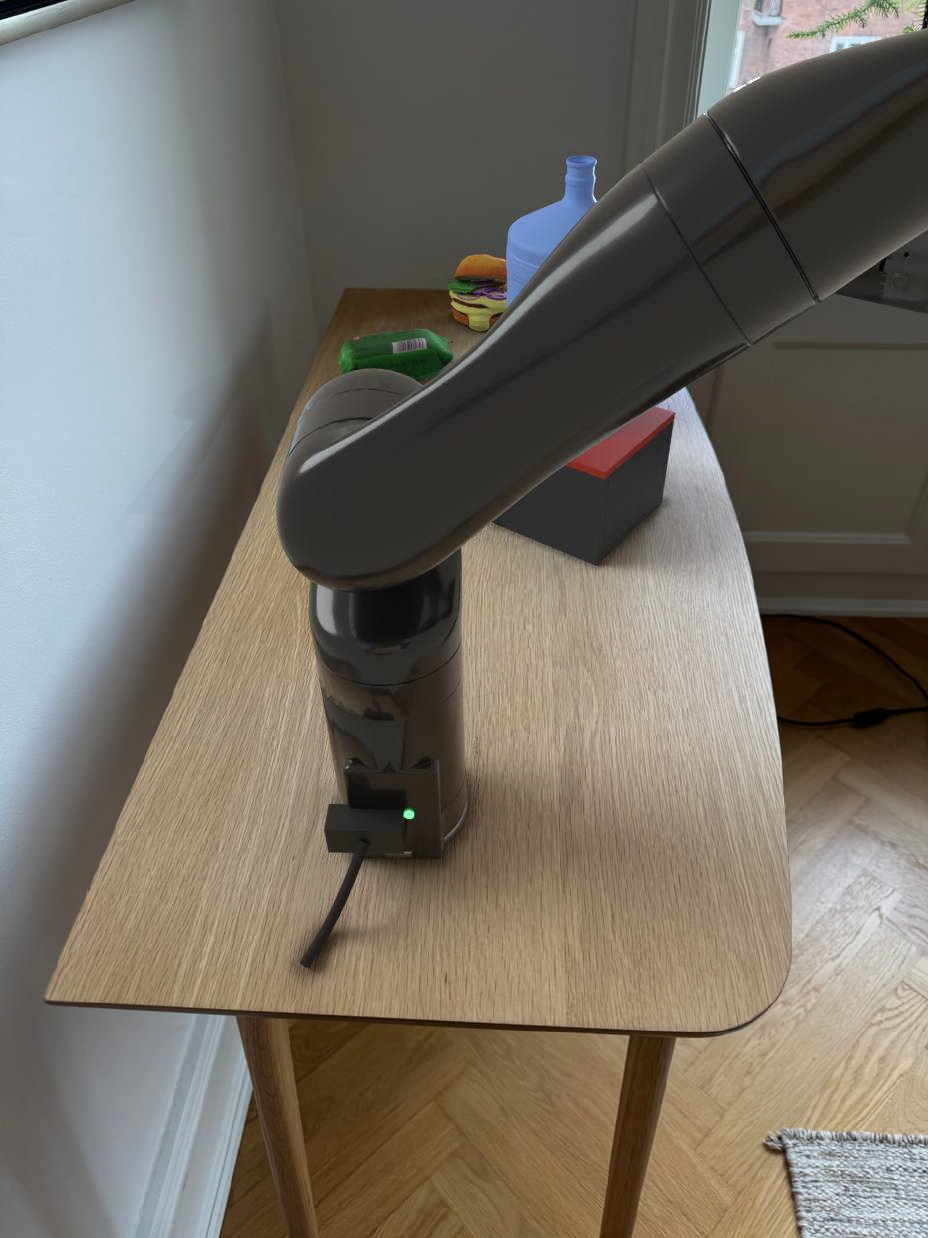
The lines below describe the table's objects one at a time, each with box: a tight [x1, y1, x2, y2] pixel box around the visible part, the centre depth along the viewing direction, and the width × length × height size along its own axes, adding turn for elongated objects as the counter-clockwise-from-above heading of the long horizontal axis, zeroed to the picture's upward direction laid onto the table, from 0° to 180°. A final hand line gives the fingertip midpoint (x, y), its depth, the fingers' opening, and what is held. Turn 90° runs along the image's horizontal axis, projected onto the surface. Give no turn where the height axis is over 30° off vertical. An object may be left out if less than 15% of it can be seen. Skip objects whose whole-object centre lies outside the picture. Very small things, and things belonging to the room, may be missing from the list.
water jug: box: [505, 155, 598, 308], centre depth 106 cm, size 16×16×28 cm
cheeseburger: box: [446, 254, 507, 332], centre depth 132 cm, size 10×11×10 cm
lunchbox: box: [492, 419, 675, 566], centre depth 94 cm, size 18×14×10 cm
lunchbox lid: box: [566, 406, 676, 480], centre depth 91 cm, size 18×14×1 cm
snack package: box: [337, 328, 455, 381], centre depth 119 cm, size 7×16×5 cm, turn 105°
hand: (698, 209), depth 71 cm, fingers open, 8 cm apart
